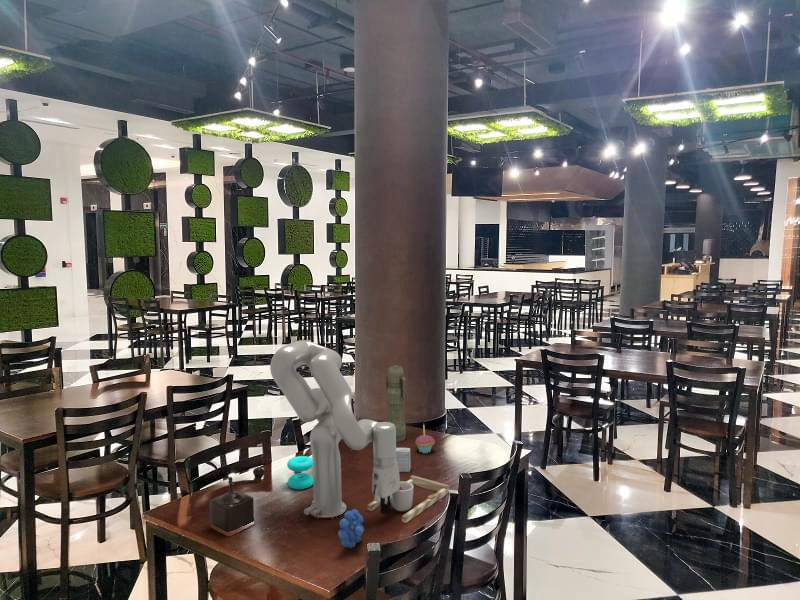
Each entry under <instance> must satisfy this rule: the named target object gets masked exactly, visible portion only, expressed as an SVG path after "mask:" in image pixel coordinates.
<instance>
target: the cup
mask: <svg viewBox="0 0 800 600" xmlns="http://www.w3.org/2000/svg"><path fill="white" fill-rule="evenodd" d="M414 487H415V485H413V484H411V483H409V482H406V481H401V480H400V488H399V490H398V491H396V492H395V493H393V496H392V501H391V506H392V507H393V509H394V510H395V511H398V512H408V511H410V510H411V509H412V506H413V500H414V499H413V498H414V497H413V496H414V490H415V489H414Z"/></svg>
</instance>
